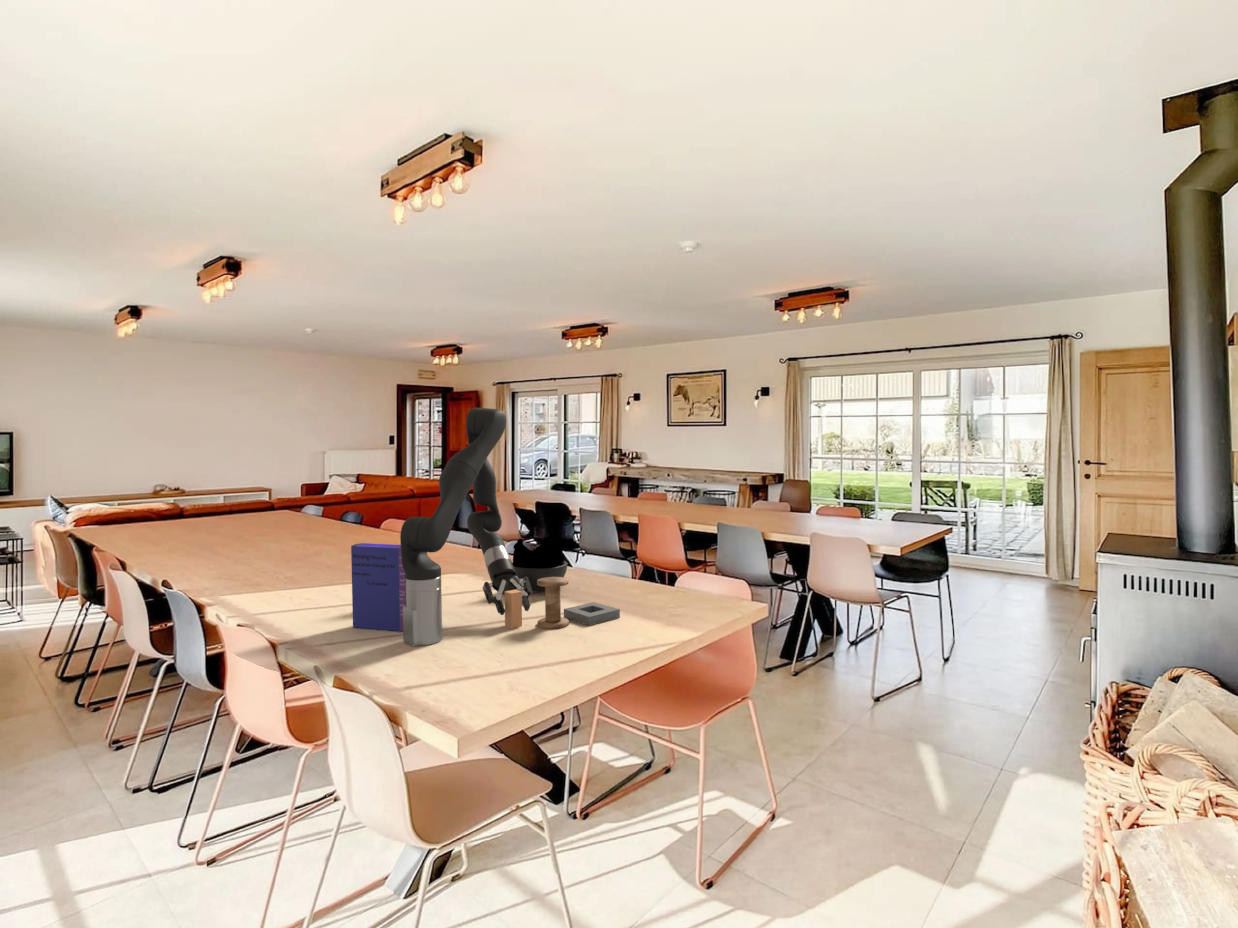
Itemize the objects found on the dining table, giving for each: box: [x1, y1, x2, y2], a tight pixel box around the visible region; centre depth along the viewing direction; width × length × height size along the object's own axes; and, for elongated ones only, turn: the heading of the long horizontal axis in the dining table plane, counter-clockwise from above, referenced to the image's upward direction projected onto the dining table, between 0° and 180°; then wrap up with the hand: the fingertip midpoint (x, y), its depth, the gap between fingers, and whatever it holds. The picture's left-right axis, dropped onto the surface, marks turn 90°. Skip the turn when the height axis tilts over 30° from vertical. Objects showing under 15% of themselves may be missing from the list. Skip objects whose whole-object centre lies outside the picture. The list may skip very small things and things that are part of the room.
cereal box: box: [350, 542, 406, 633], centre depth 185 cm, size 17×5×24 cm, turn 74°
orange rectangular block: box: [504, 589, 523, 629], centre depth 187 cm, size 4×4×10 cm
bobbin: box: [537, 577, 570, 630], centre depth 188 cm, size 9×9×13 cm
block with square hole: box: [563, 601, 621, 626], centre depth 195 cm, size 12×12×2 cm
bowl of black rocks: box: [512, 537, 568, 593], centre depth 228 cm, size 20×20×19 cm
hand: (515, 611), depth 186 cm, fingers open, 7 cm apart
